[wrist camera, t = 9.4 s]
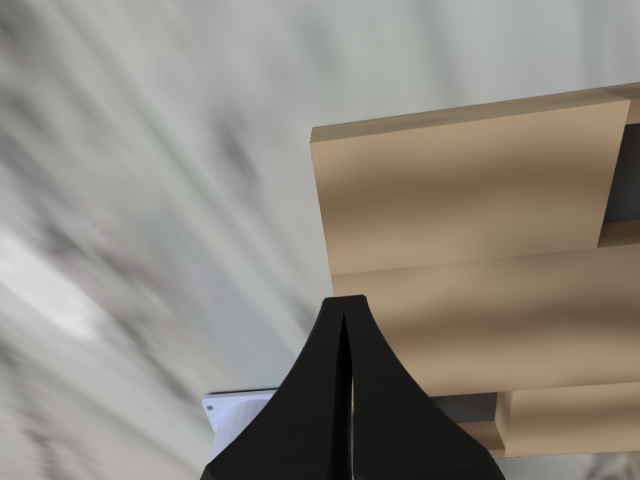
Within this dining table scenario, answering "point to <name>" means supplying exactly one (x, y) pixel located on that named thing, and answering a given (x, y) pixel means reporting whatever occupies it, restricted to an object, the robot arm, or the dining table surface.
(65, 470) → the dining table surface
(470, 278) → the track
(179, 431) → the dining table surface
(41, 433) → the dining table surface
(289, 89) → the dining table surface
